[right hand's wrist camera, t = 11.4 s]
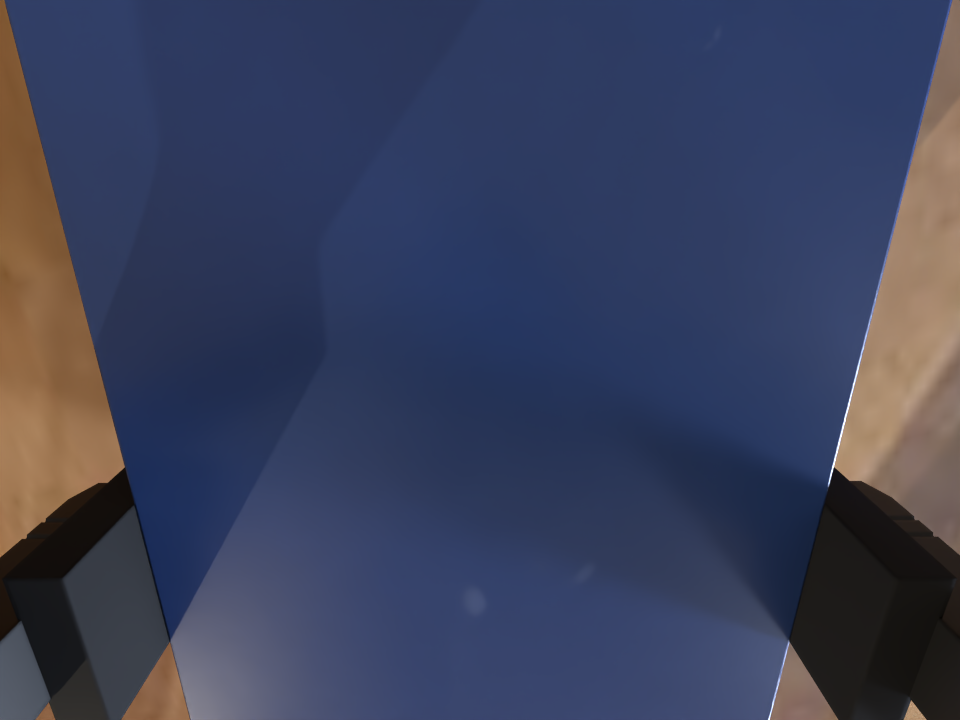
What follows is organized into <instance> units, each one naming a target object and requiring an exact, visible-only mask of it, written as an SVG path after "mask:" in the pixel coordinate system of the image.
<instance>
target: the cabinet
mask: <svg viewBox="0 0 960 720" xmlns="http://www.w3.org/2000/svg"><path fill="white" fill-rule="evenodd" d="M951 3H952V0H5V4H6V8H7V12H8V16H9V20H10V24H11V27H12V31H13V35H14V39H15V43H16V47H17V51H18V55H19V58H20V62H21V66H22V70H23V74H24V78H25V82H26V86H27V89H28V93H29V97H30V101H31V105H32V109H33V113H34V117H35V120H36V124H37V128H38V132H39V136H40V140H41V144H42V148H43V151H44V155H45V159H46V163H47V167H48V171H49V175H50V178H51V182H52V186H53V190H54V194H55V198H56V202H57V206H58V209H59V213H60V217H61V221H62V225H63V229H64V233H65V237H66V240H67V244H68V248H69V252H70V256H71V260H72V264H73V268H74V271H75V275H76V279H77V283H78V287H79V291H80V295H81V299H82V302H83V306H84V310H85V314H86V318H87V322H88V326H89V329H90V333H91V337H92V341H93V345H94V349H95V353H96V357H97V360H98V364H99V368H100V372H101V376H102V380H103V384H104V388H105V391H106V395H107V399H108V403H109V407H110V411H111V415H112V419H113V422H114V426H115V430H116V434H117V438H118V442H119V446H120V450H121V453H122V457H123V461H124V465H125V469H126V473H127V477H128V480H129V484H130V488H131V492H132V496H133V500H134V504H135V508H136V511H137V515H138V519H139V523H140V527H141V531H142V535H143V539H144V542H145V546H146V550H147V554H148V558H149V562H150V566H151V570H152V573H153V577H154V581H155V585H156V589H157V593H158V597H159V601H160V604H161V608H162V612H163V616H164V620H165V624H166V628H167V631H168V635H169V639H170V643H171V647H172V651H173V655H174V659H175V662H176V666H177V670H178V674H179V678H180V682H181V686H182V690H183V693H184V697H185V701H186V705H187V709H188V713H189V717H190V720H770V716H771V712H772V708H773V704H774V701H775V697H776V693H777V689H778V685H779V681H780V677H781V673H782V669H783V665H784V661H785V657H786V653H787V649H788V645H789V641H790V637H791V634H792V630H793V626H794V622H795V618H796V614H797V610H798V606H799V602H800V598H801V594H802V590H803V586H804V582H805V578H806V574H807V570H808V567H809V563H810V559H811V555H812V551H813V547H814V543H815V539H816V535H817V531H818V527H819V523H820V519H821V515H822V511H823V507H824V503H825V499H826V496H827V492H828V488H829V484H830V480H831V476H832V472H833V468H834V464H835V460H836V456H837V452H838V448H839V444H840V440H841V436H842V432H843V429H844V425H845V421H846V417H847V413H848V409H849V405H850V401H851V397H852V393H853V389H854V385H855V381H856V377H857V373H858V369H859V365H860V362H861V358H862V354H863V350H864V346H865V342H866V338H867V334H868V330H869V326H870V322H871V318H872V314H873V310H874V306H875V302H876V298H877V294H878V291H879V287H880V283H881V279H882V275H883V271H884V267H885V263H886V259H887V255H888V251H889V247H890V243H891V239H892V235H893V231H894V227H895V224H896V220H897V216H898V212H899V208H900V204H901V200H902V196H903V192H904V188H905V184H906V180H907V176H908V172H909V168H910V164H911V160H912V157H913V153H914V149H915V145H916V141H917V137H918V133H919V129H920V125H921V121H922V117H923V113H924V109H925V105H926V101H927V97H928V93H929V89H930V86H931V82H932V78H933V74H934V70H935V66H936V62H937V58H938V54H939V50H940V46H941V42H942V38H943V34H944V30H945V26H946V22H947V19H948V15H949V11H950V7H951Z"/></svg>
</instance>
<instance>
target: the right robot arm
mask: <svg viewBox="0 0 960 720" xmlns="http://www.w3.org/2000/svg"><path fill="white" fill-rule="evenodd" d="M169 642H170V639H169V635H168V631H167V628H166V624H165V620H164V616H163V612H162V608H161V604H160V601H159V597H158V593H157V589H156V585H155V581H154V577H153V573H152V570H151V566H150V562H149V558H148V554H147V550H146V546H145V542H144V539H143V535H142V531H141V527H140V523H139V519H138V515H137V511H136V508H135V504H134V500H133V496H132V492H131V488H130V484H129V480H128V477H127V473H126V469H125V468H124V469H123V470H122V471H120V472H119V473H118V474H117V475H116V476H115V477H114V478H113V479H112V480H110V481H109V482H108V483H98V484H96V485H94V486H92V487H90V488H89V489H87V490H85V491H83V492H81V493H79V494H77V495H76V496H74V497H72V498H70V499H68V500H67V501H66V502H65V503H64V504H62V505H61V506H60V507H59V508H58V509H57V510H55V511H54V512H53V513H52V514H51V515H50V516H48V517H47V518H46V522H45V523H40V524H39V525H38V526H37V527H36V528H34V529H33V530H32V531H31V532H30V533H29V534H27V538H26V539H22V540H20V541H19V542H18V543H17V544H16V545H15V546H13V547H12V548H11V549H10V550H9V551H8V552H6V553H5V554H4V555H3V556H2V557H1V558H0V720H35V719H36V718H37V717H38V715H39V714H40V713H41V711H42V710H43V709H44V708H45V706H46V705H47V704H48V702H49V704H50V706H51V709H52V711H53V714H54V717H55V719H56V720H121V719H122V717H123V716H124V714H125V712H126V711H127V709H128V708H129V706H130V704H131V703H132V701H133V700H134V698H135V696H136V695H137V693H138V692H139V690H140V688H141V687H142V685H143V684H144V682H145V680H146V679H147V677H148V676H149V674H150V672H151V671H152V669H153V668H154V666H155V664H156V663H157V661H158V660H159V658H160V656H161V655H162V653H163V652H164V650H165V649H166V647H167V645H168V644H169ZM790 643H791V645H792V646H793V648H794V649H795V651H796V653H797V654H798V656H799V657H800V659H801V661H802V662H803V664H804V665H805V667H806V669H807V670H808V672H809V673H810V675H811V677H812V678H813V680H814V681H815V683H816V685H817V686H818V688H819V689H820V691H821V693H822V694H823V696H824V697H825V699H826V701H827V702H828V704H829V705H830V707H831V709H832V710H833V712H834V713H835V715H836V717H837V718H838V720H904V717H905V715H906V712H907V709H908V707H909V704H910V701H911V700H912V701H913V703H914V704H915V705H916V707H917V708H918V709H919V710H920V712H921V713H922V714H923V716H924V717H925V718H926V719H927V720H960V555H959V554H958V553H956V552H955V551H954V550H953V549H952V548H950V547H949V546H948V545H947V544H946V543H945V542H943V541H942V540H941V539H940V538H939V537H934V536H933V532H932V531H930V530H929V529H928V528H927V527H926V526H925V525H923V524H922V523H921V522H920V521H919V520H914V516H913V515H912V514H910V513H909V512H908V511H907V510H906V509H905V508H903V507H902V506H901V505H900V504H899V503H898V502H896V501H895V500H894V499H893V498H892V497H890V496H888V495H886V494H884V493H882V492H881V491H879V490H877V489H875V488H873V487H871V486H869V485H868V484H866V483H864V482H862V481H849V480H848V479H847V478H846V477H844V476H843V475H842V474H841V473H840V472H839V471H838V470H837V469H836V468H833V472H832V476H831V480H830V484H829V488H828V492H827V496H826V499H825V503H824V507H823V511H822V515H821V519H820V523H819V527H818V531H817V535H816V539H815V543H814V547H813V551H812V555H811V559H810V563H809V567H808V570H807V574H806V578H805V582H804V586H803V590H802V594H801V598H800V602H799V606H798V610H797V614H796V618H795V622H794V626H793V630H792V634H791V637H790Z"/></svg>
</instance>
